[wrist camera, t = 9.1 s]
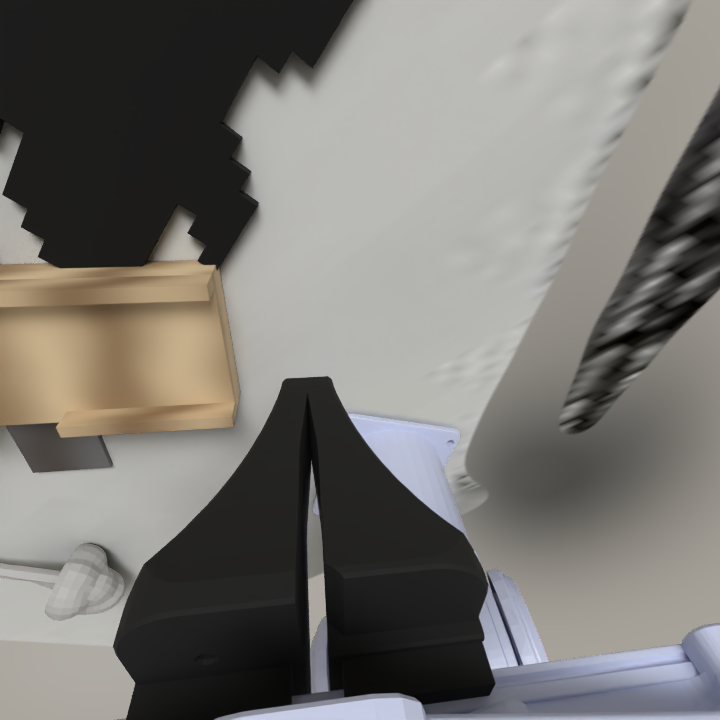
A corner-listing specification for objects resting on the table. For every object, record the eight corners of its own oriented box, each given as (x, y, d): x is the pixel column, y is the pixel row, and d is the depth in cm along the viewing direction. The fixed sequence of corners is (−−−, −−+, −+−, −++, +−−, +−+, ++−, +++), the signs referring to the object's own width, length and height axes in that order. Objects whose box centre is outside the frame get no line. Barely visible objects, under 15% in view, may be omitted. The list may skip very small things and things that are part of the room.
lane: (217, 259, 21) (200, 299, 17) (250, 454, 28) (243, 510, 24) (-314, 271, 18) (-461, 319, 15) (-127, 480, 26) (-196, 545, 22)
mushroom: (-113, 581, 25) (100, 619, 27) (-52, 506, 29) (135, 544, 30) (-67, 611, 30) (112, 642, 32) (-19, 544, 33) (140, 575, 35)
